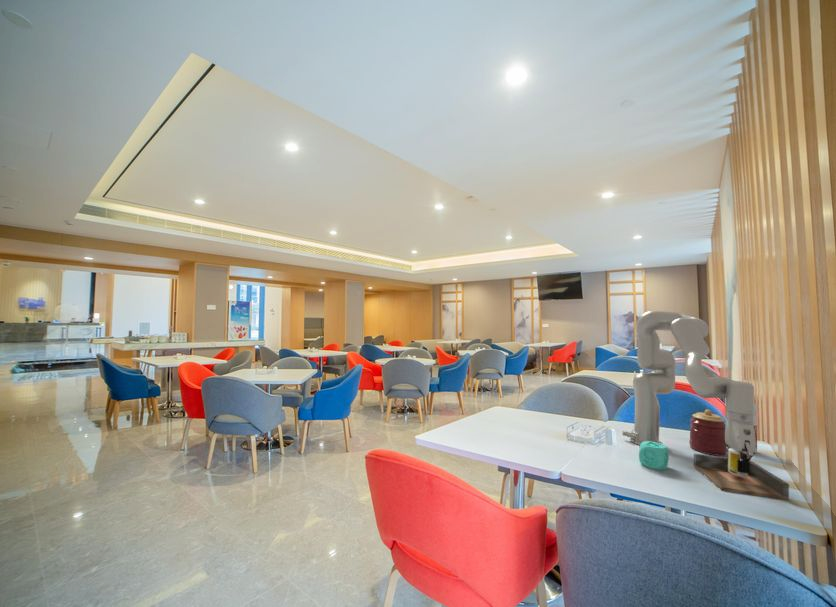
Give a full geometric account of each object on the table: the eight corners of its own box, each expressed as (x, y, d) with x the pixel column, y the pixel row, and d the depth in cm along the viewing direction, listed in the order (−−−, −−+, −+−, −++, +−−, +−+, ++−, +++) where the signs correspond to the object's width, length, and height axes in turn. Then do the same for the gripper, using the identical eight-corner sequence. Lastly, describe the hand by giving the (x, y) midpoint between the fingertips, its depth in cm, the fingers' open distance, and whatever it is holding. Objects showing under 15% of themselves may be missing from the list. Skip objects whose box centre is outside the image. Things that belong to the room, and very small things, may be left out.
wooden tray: (721, 490, 121) (721, 474, 121) (693, 466, 140) (693, 453, 140) (788, 500, 116) (788, 484, 116) (750, 474, 135) (750, 460, 135)
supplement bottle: (752, 478, 125) (753, 448, 126) (732, 475, 127) (733, 446, 127) (743, 472, 131) (744, 443, 131) (724, 469, 132) (725, 441, 133)
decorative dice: (668, 466, 139) (669, 445, 139) (663, 472, 134) (663, 450, 134) (644, 460, 145) (645, 439, 145) (638, 465, 139) (639, 443, 140)
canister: (733, 458, 152) (734, 415, 152) (695, 452, 156) (696, 411, 156) (719, 447, 164) (719, 408, 165) (684, 443, 168) (685, 404, 169)
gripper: (767, 425, 120) (766, 481, 120) (738, 412, 137) (737, 461, 136) (740, 422, 122) (739, 477, 122) (714, 409, 139) (713, 458, 138)
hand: (738, 468), depth 129 cm, fingers closed on supplement bottle, 5 cm apart
